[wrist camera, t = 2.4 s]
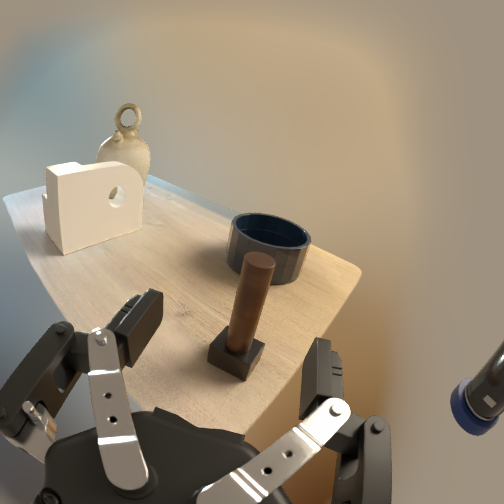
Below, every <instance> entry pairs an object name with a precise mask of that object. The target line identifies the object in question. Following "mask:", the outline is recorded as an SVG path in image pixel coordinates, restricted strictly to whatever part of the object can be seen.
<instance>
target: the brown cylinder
mask: <svg viewBox="0 0 504 504" xmlns="http://www.w3.org/2000/svg"><path fill="white" fill-rule="evenodd" d="M275 265H276V262H275V260H274V259H273V258H272V257H271V256H269V255H267V254H265V253H262V252H249V253H247V254H246V255H245V256H244V261H243V265H242V270H241V274H240V279H239V283H238V288H237V292H236V297H235V301H234V306H233V311H232V315H231V320H230V324H229V326H228V325H227V326H226V327H225V328H224V330H223V331H222V332H221V333H220V334H219V335H218V336H217V337H216V338H215V340H214V341H213V342H212V343H211V344H210V346H209V352H208V359H207V361H208V362H209V363H211V364H213V365H215V366H217V367H218V368H220V369H222V370H224V371H226V372H228V373H230V374H232V375H234V376H236V377H238V378H240V379H242V380H244V381H246V380H247V378H248V377H249V375H250V374H251V372H252V371H253V369H254V367H255V366H256V364H257V363H258V361H259V360H260V357H261V354H262V352H263V349H264V346H265V343H263V342H261V341H259V340H256V339H254V335H255V332H256V328H257V325H258V322H259V319H260V315H261V312H262V309H263V305H264V302H265V299H266V295H267V292H268V289H269V285H270V282H271V278H272V275H273V272H274V268H275Z"/></svg>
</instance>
